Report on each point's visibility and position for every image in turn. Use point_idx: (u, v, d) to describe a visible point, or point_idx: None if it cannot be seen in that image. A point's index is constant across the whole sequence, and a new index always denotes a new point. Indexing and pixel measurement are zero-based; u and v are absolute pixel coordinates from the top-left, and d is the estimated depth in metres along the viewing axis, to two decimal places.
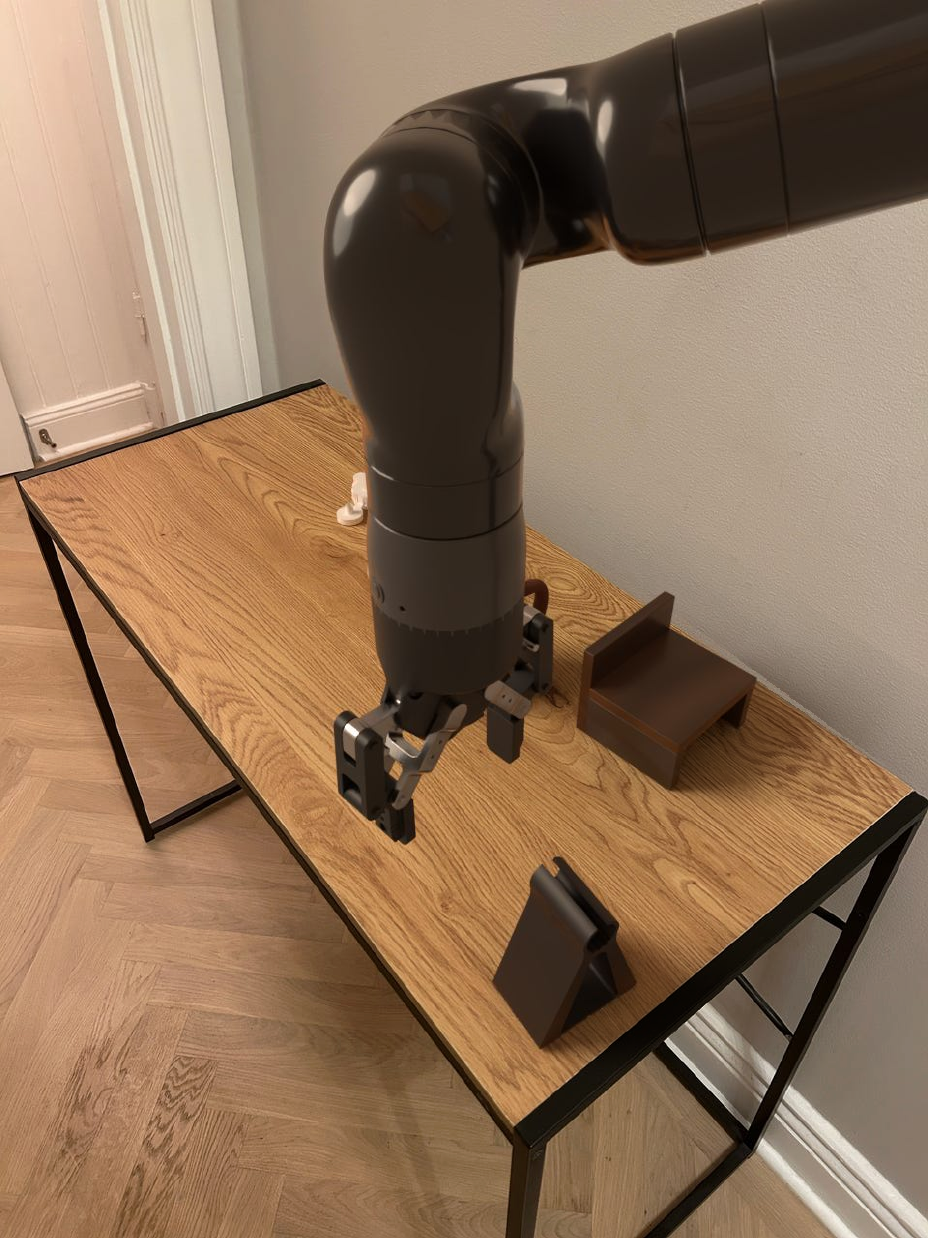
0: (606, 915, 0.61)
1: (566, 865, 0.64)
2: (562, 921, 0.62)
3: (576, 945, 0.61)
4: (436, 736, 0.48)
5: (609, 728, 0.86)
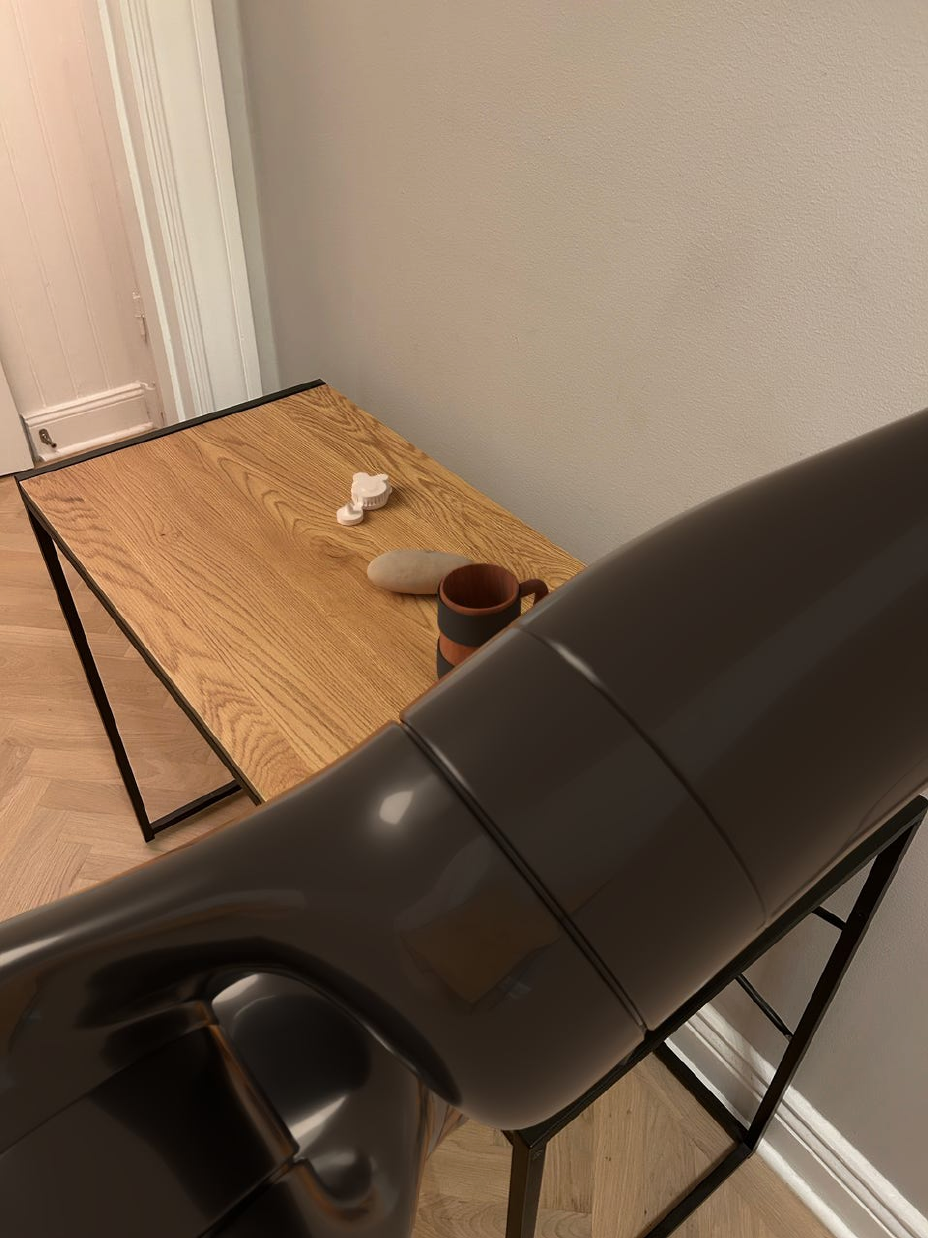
0: None
1: None
2: None
3: None
4: None
5: None
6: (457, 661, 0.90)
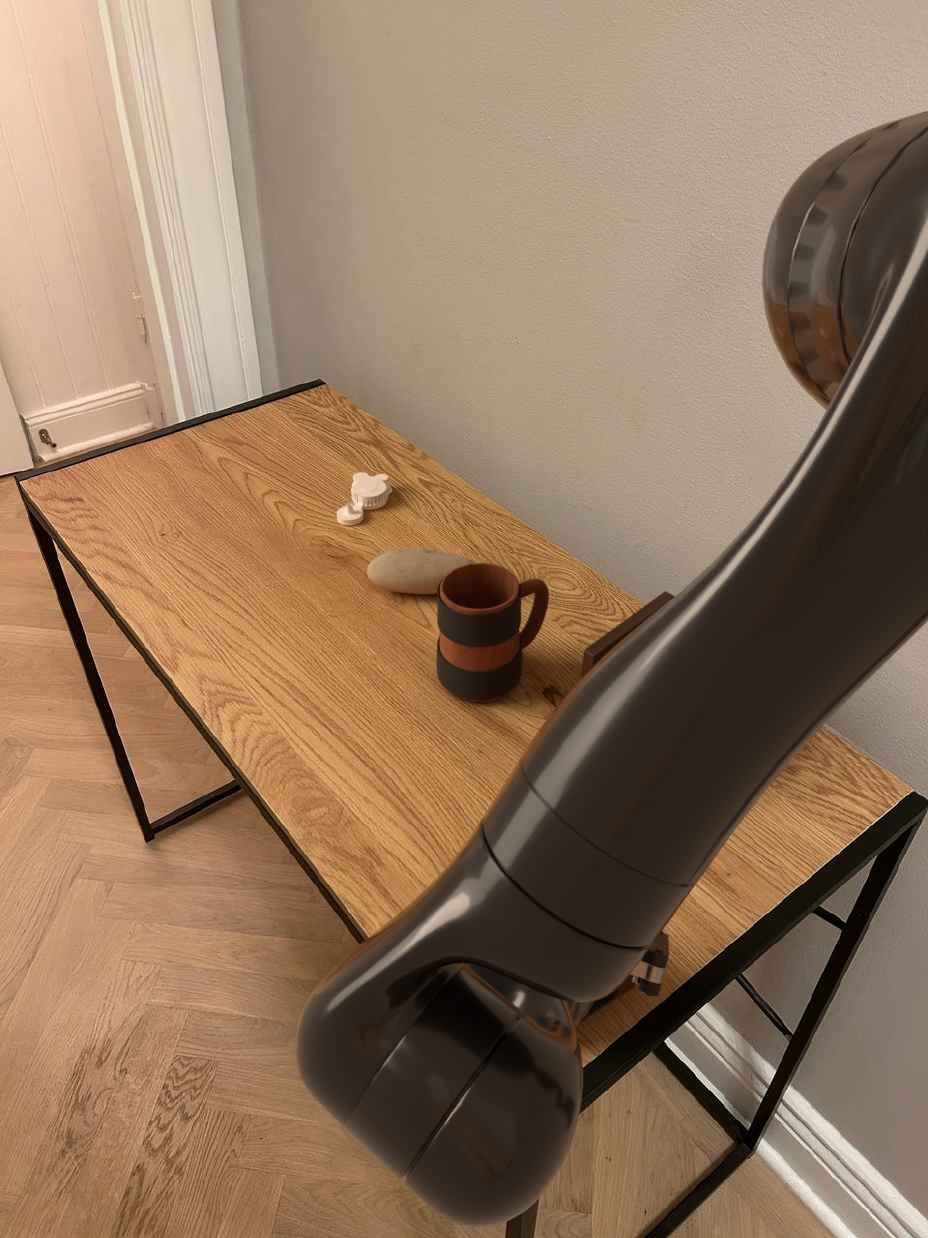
0: None
1: None
2: None
3: None
4: None
5: None
6: (457, 661, 0.90)
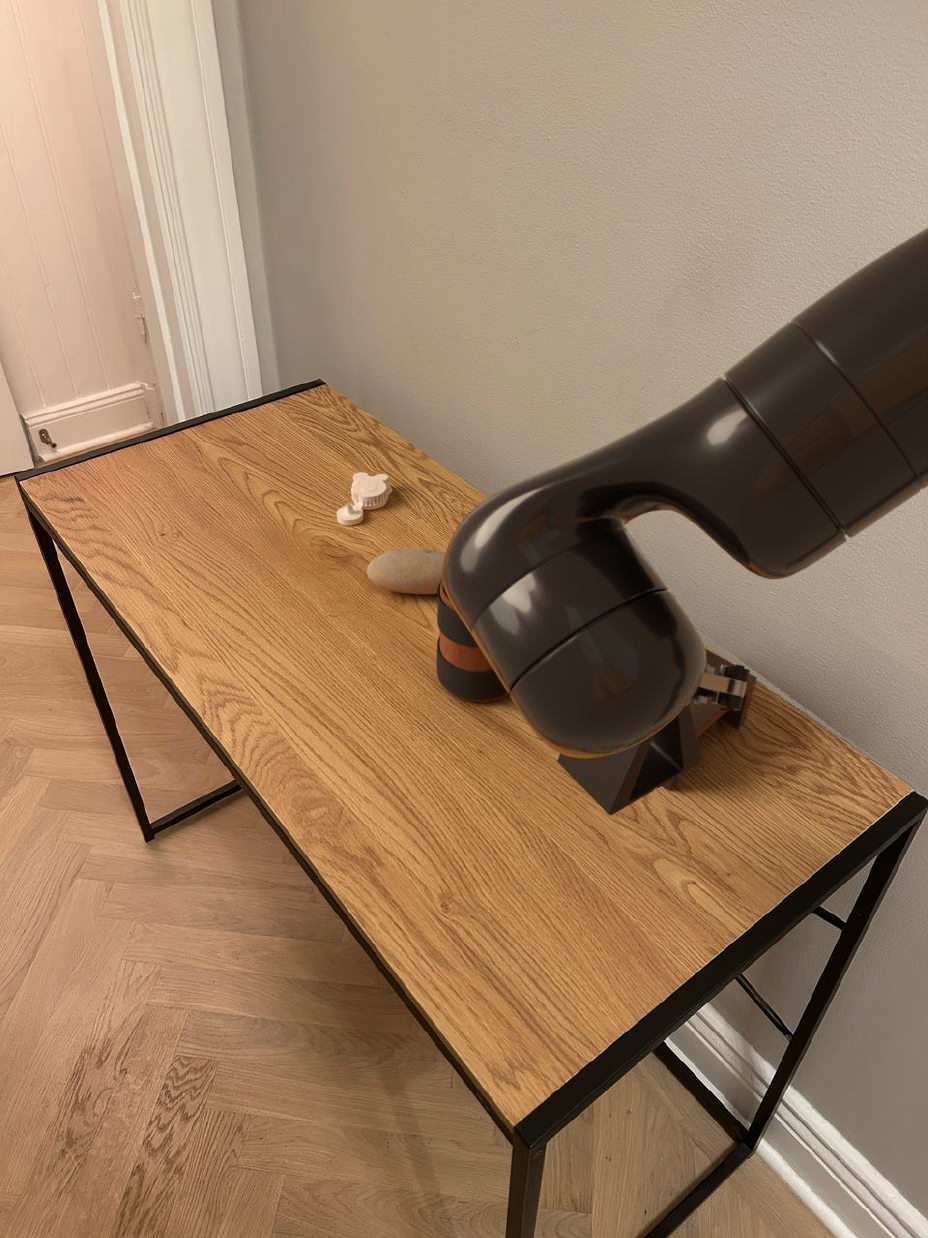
0: None
1: None
2: None
3: None
4: None
5: None
6: (457, 661, 0.90)
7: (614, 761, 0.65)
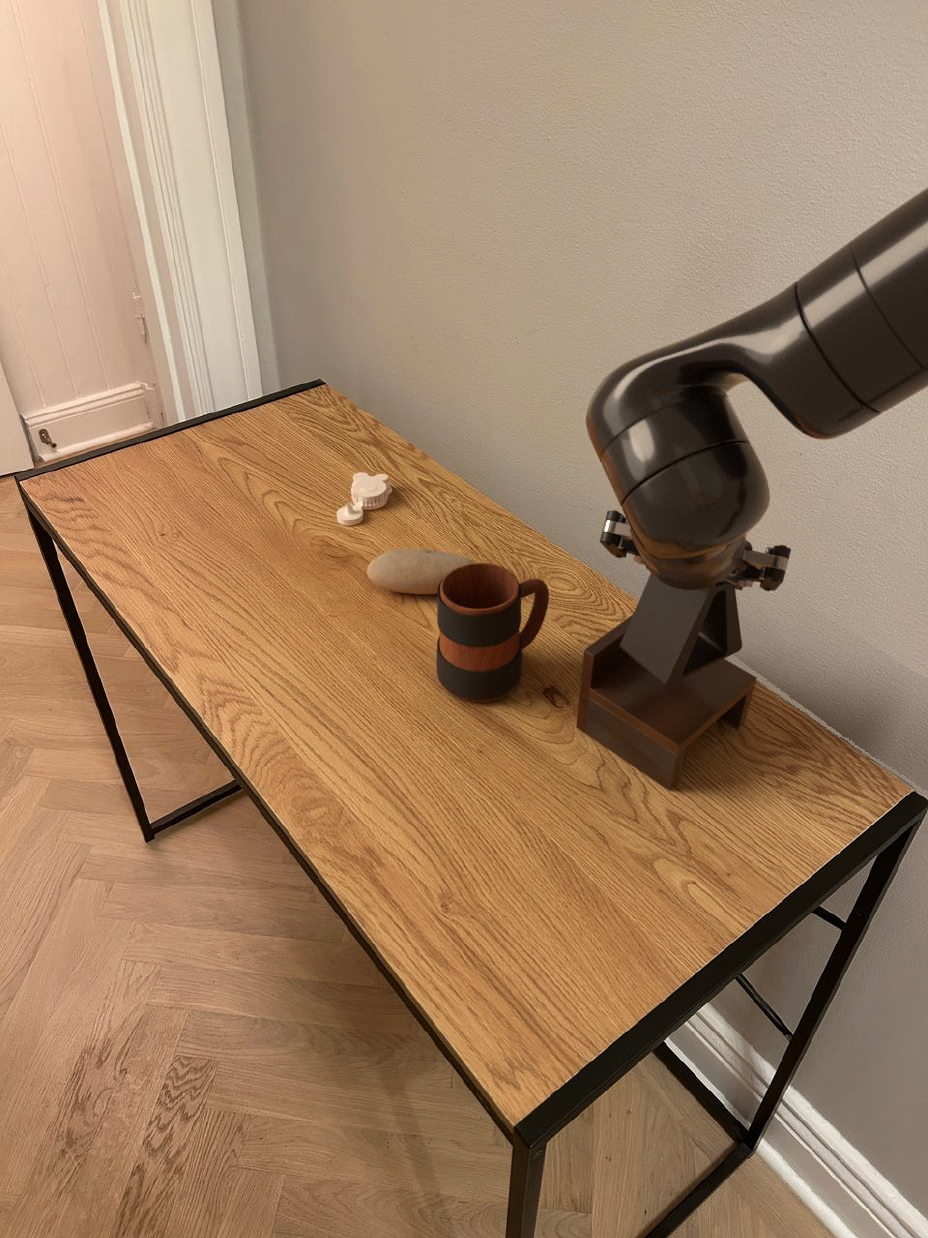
0: None
1: None
2: None
3: None
4: None
5: (609, 728, 0.86)
6: (457, 661, 0.90)
7: (671, 640, 0.78)
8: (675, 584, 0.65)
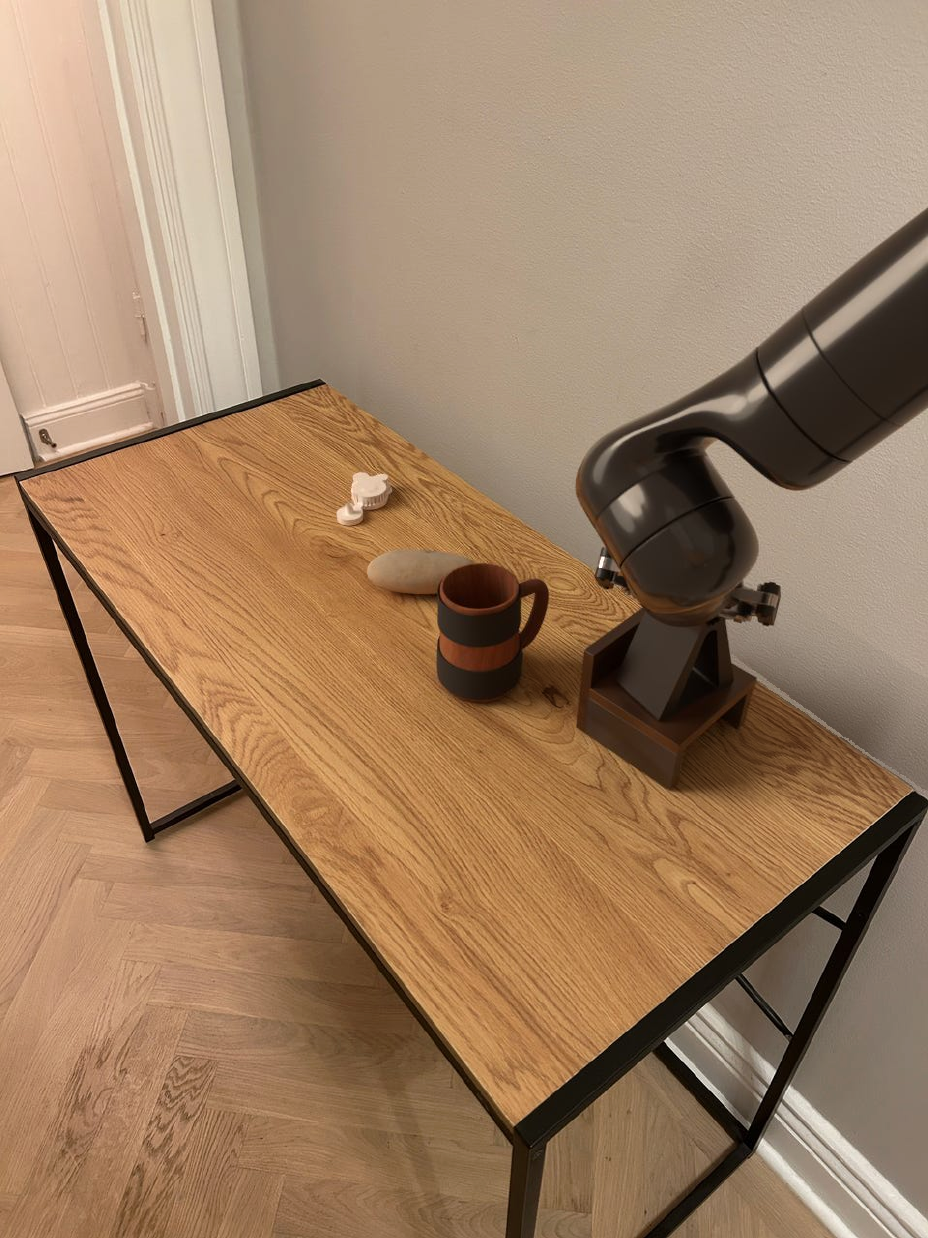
0: None
1: None
2: None
3: None
4: None
5: (609, 728, 0.86)
6: (457, 661, 0.90)
7: (664, 676, 0.81)
8: (668, 622, 0.68)
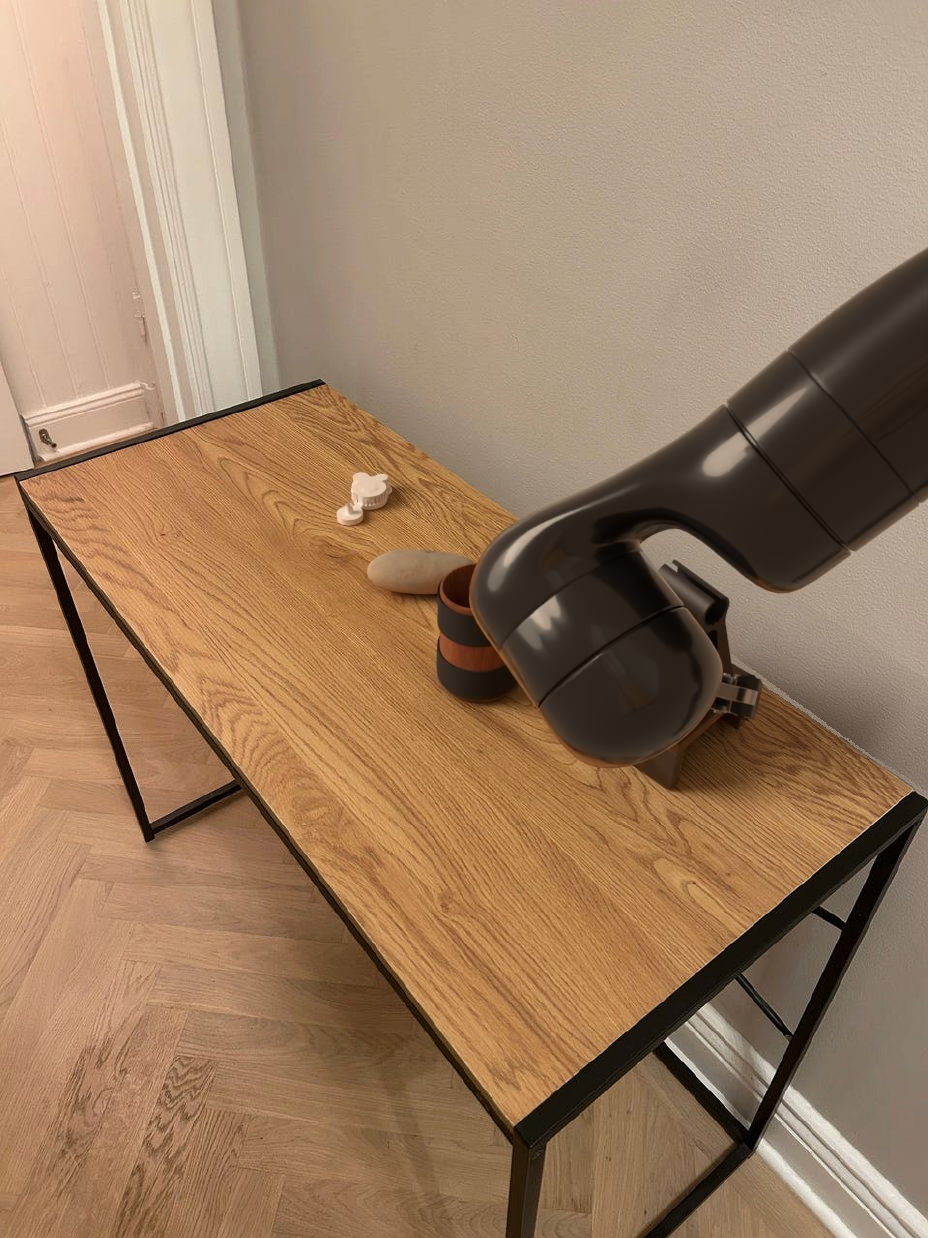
0: (720, 593, 0.77)
1: (683, 565, 0.80)
2: (683, 602, 0.78)
3: (695, 619, 0.77)
4: None
5: None
6: (457, 661, 0.90)
7: None
8: None
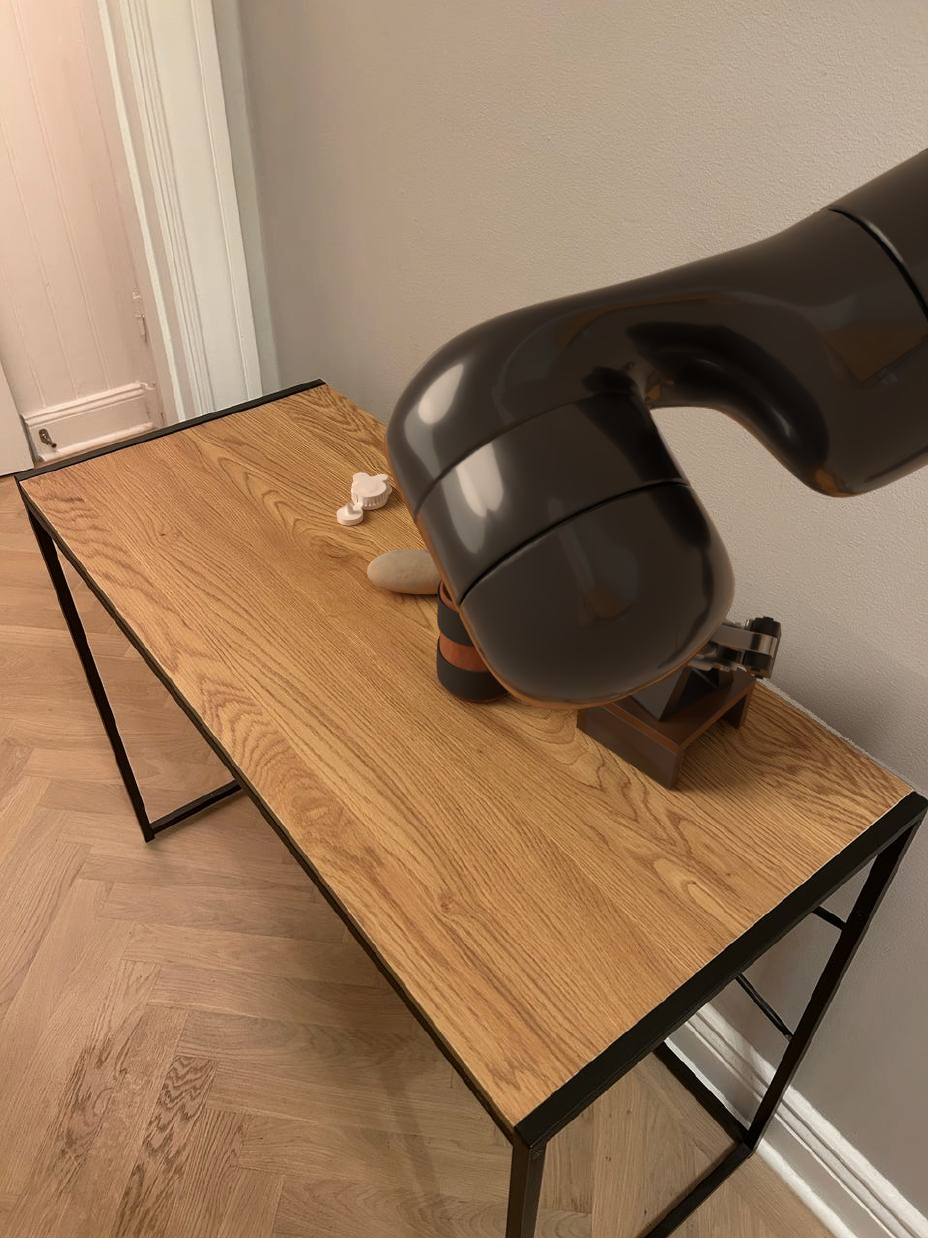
0: None
1: None
2: None
3: None
4: None
5: (609, 728, 0.86)
6: (457, 661, 0.90)
7: None
8: None
